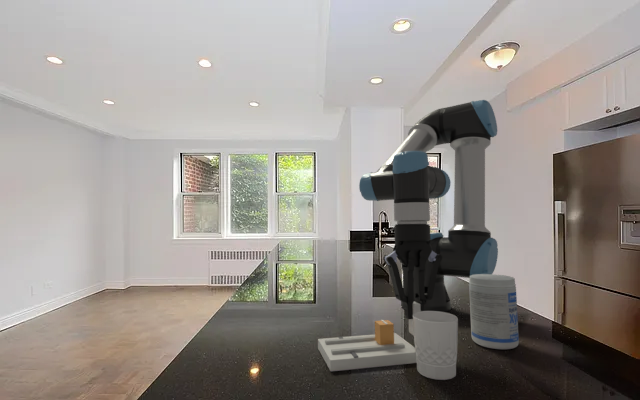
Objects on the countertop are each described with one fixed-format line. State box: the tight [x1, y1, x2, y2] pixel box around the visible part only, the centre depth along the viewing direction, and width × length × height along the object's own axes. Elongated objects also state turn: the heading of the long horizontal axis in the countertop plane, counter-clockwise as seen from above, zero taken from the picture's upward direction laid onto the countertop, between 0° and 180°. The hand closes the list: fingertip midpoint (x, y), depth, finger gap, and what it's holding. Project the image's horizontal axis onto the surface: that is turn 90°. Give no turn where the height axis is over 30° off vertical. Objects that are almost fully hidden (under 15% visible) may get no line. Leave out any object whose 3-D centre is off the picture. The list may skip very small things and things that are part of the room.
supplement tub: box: [468, 273, 520, 350], centre depth 79 cm, size 10×10×15 cm
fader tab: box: [374, 319, 395, 345], centre depth 73 cm, size 3×3×4 cm
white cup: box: [413, 311, 459, 381], centre depth 64 cm, size 8×8×10 cm
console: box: [317, 332, 417, 372], centre depth 72 cm, size 18×12×3 cm, turn 102°
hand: (415, 333), depth 74 cm, fingers closed
